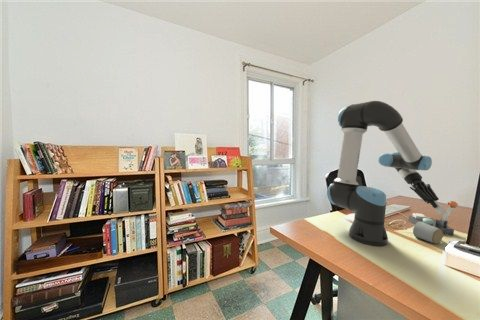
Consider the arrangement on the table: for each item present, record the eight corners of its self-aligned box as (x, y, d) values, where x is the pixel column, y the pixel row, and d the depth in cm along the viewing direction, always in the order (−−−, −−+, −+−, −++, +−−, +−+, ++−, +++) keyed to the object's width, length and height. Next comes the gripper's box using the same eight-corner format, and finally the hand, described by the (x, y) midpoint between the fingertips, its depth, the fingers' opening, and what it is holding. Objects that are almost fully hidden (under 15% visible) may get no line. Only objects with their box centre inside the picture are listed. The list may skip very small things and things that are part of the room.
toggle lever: (434, 222, 102) (447, 199, 97) (439, 221, 103) (452, 199, 97) (442, 226, 99) (456, 204, 94) (447, 226, 99) (461, 203, 94)
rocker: (415, 218, 110) (416, 216, 109) (412, 215, 112) (413, 213, 112) (425, 219, 108) (425, 216, 108) (421, 216, 111) (422, 213, 111)
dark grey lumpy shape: (426, 232, 99) (427, 220, 99) (408, 220, 115) (409, 210, 114) (453, 235, 97) (454, 223, 96) (431, 222, 112) (432, 212, 111)
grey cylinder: (433, 246, 86) (435, 229, 85) (411, 237, 93) (413, 221, 93) (447, 242, 89) (449, 226, 89) (425, 234, 97) (426, 219, 96)
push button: (425, 224, 101) (426, 220, 101) (420, 221, 105) (421, 217, 105) (435, 225, 100) (435, 221, 100) (429, 222, 104) (430, 218, 104)
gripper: (407, 171, 110) (441, 211, 95) (424, 171, 113) (459, 209, 99) (396, 179, 115) (427, 217, 101) (412, 178, 119) (444, 215, 104)
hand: (443, 213), depth 100 cm, fingers closed
